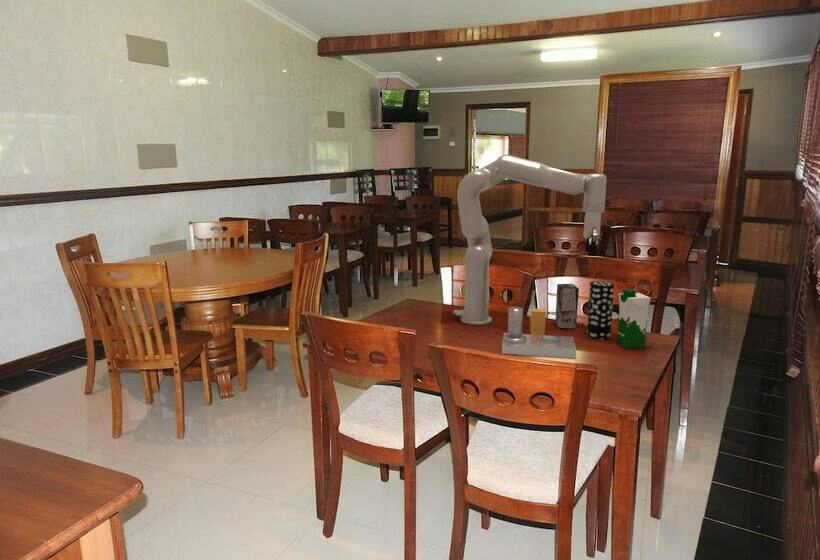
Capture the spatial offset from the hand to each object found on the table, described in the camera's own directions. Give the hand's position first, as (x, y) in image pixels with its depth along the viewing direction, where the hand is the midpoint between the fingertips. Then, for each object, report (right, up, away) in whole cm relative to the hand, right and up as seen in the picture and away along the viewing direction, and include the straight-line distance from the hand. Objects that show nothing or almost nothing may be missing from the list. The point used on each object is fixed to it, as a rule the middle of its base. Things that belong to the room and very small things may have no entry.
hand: (590, 253), depth 214 cm
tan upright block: (-21, -31, -4) cm, 37 cm away
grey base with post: (-24, -34, -18) cm, 45 cm away
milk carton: (+10, -33, -14) cm, 37 cm away
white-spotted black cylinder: (+1, -31, -4) cm, 31 cm away
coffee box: (-7, -28, +10) cm, 30 cm away
